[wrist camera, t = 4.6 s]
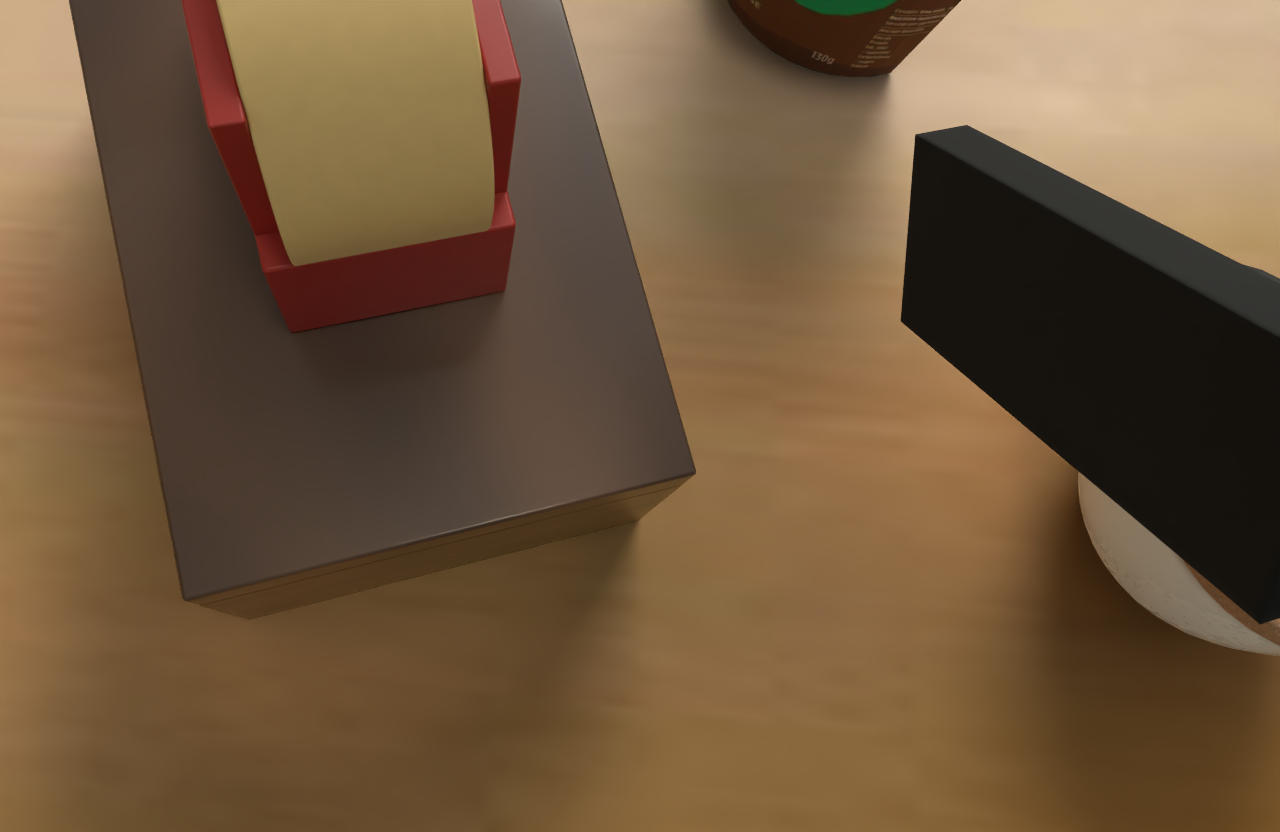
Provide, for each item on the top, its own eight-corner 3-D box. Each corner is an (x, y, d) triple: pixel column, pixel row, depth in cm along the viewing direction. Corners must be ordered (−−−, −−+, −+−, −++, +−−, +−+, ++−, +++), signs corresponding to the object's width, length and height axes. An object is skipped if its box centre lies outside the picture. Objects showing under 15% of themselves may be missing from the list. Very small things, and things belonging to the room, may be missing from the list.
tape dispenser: (423, -28, 28) (413, -369, 19) (509, 299, 26) (543, 99, 17) (216, -2, 27) (98, -352, 18) (292, 342, 25) (204, 152, 16)
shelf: (502, 17, 37) (518, -155, 29) (640, 519, 34) (697, 473, 26) (136, 68, 34) (47, -107, 27) (246, 620, 31) (182, 602, 23)
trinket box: (1236, 726, 36) (1504, 743, 27) (968, 551, 35) (1147, 508, 26) (1342, 462, 39) (1613, 398, 30) (1096, 300, 38) (1294, 186, 29)
